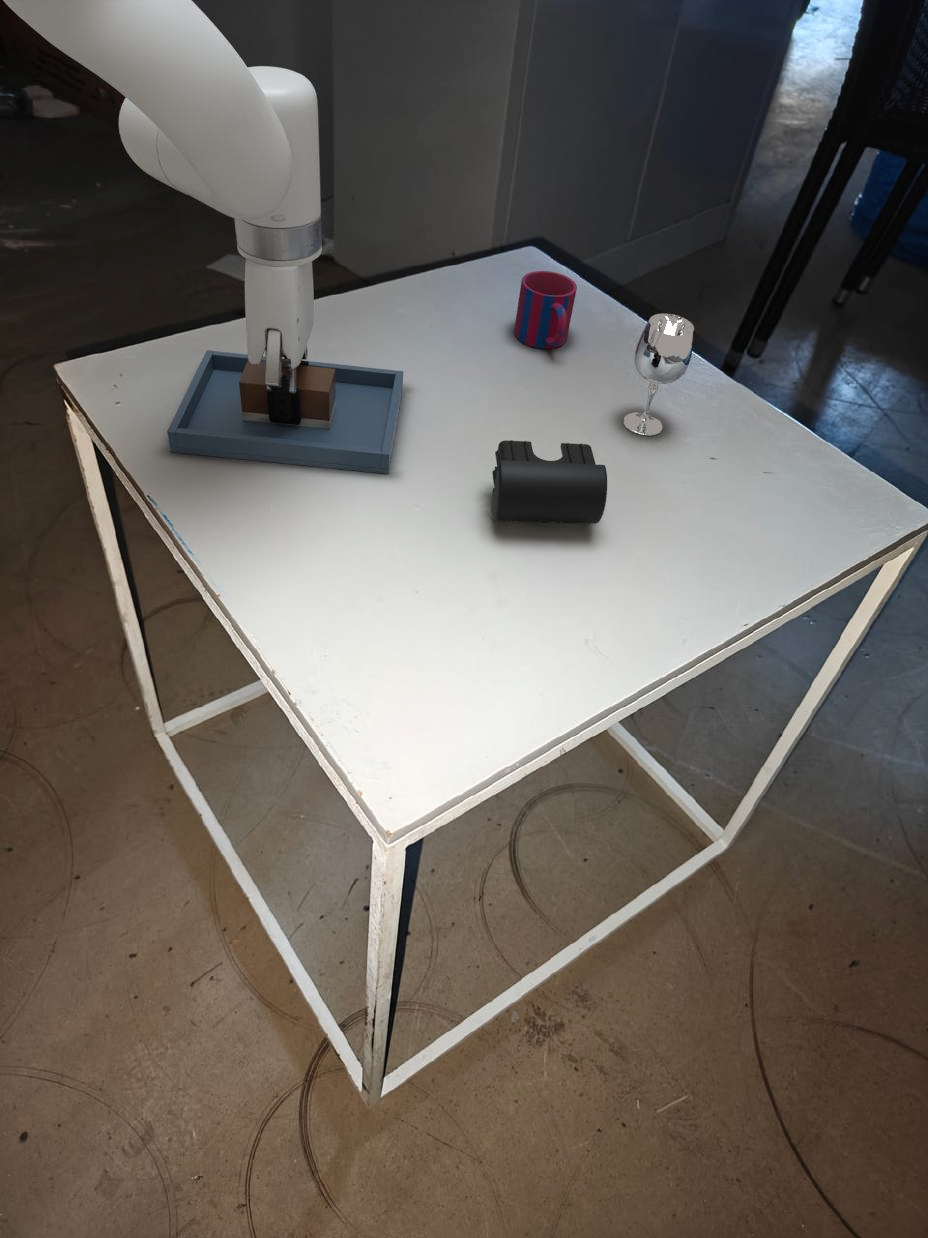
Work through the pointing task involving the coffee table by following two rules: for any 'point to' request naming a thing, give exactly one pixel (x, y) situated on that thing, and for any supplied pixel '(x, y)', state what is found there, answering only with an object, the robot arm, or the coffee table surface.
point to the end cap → (548, 485)
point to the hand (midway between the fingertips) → (290, 406)
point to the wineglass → (660, 363)
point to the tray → (349, 444)
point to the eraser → (310, 380)
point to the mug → (544, 309)
